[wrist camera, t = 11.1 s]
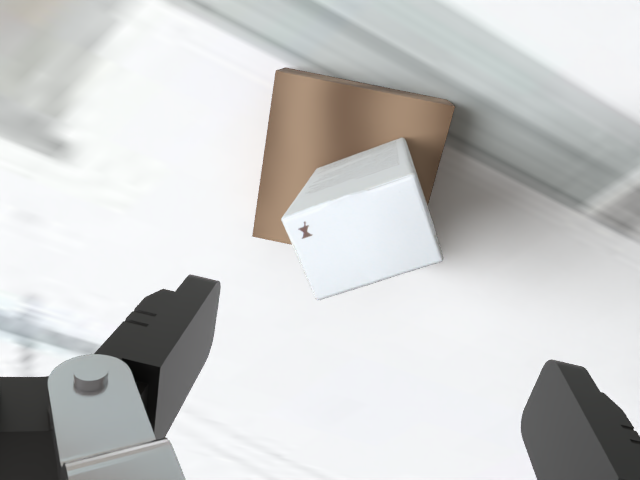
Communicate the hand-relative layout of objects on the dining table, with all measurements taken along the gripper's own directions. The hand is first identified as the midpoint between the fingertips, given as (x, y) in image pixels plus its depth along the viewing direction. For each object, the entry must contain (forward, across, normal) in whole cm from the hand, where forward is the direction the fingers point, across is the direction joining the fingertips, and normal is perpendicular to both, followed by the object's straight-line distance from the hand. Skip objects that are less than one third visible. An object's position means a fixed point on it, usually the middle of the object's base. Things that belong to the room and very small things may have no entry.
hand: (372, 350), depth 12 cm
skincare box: (+22, 0, +2) cm, 22 cm away
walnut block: (+26, +2, +2) cm, 26 cm away
